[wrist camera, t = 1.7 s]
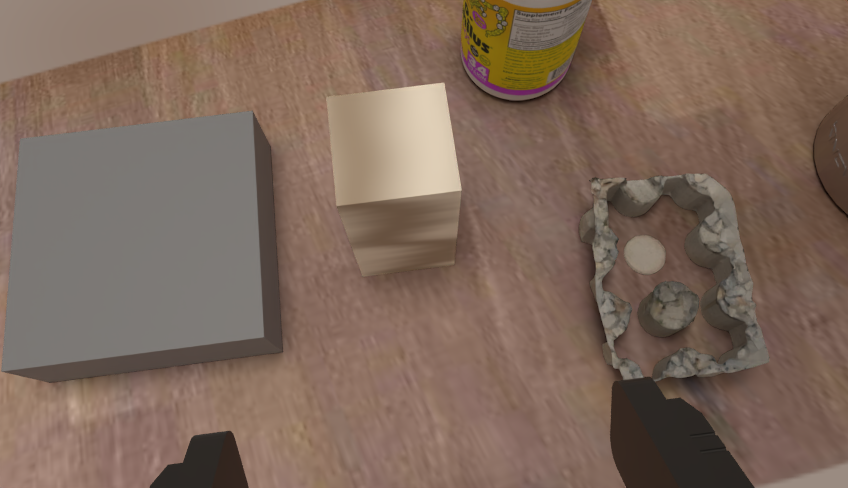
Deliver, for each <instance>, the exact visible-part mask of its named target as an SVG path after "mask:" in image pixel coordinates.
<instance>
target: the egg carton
mask: <svg viewBox="0 0 848 488" xmlns="http://www.w3.org/2000/svg"><path fill="white" fill-rule="evenodd" d="M589 181H590V182H591V183H592V188H591V193H592V194H593V197H594V204H593V208H592V209H591V210H589V211H588V212H587V213H585V214H584V215H583V216H582V217H581V220H580V224H579V234H580V238H581V241H582V242H586V243H589V244H591V245H593V252H594V260H595V263H596V274H595V275H594V278H593V279H592V280H591V281H590V283H589V284H590V287H591V290H592V292H593V294H594V297H595V300H596V302H597V303H598V307H599V311H600V315H601V319H602V322H603V326H604V330H605V334H606V338H607V342H606V343H604V344H603V345H602V347H603V354H604V358H605V361H606V363H607V364H609V365H613V367H614V368H615V369H619V370H620V372H621V374H622V376H623V380H628V379H636V378H643V377H644V376H643V374H642V372H641V369H640V367H639V365H637V364H636V363H634V362H633V361H631V360H629V359H627V358H626V359H622V358H618V357H617V355H616V352H615V350H614V339H616V338H617V337H618V336H619V335H621V334H622V333H623V332H624V331H625V330H626V328H627V326H628V323H629V319H630V314H631V311H632V307H631V305H630V303H628V302H625V301H623V300H621V299H620V298H618V297H617V296H616V295H615V294H613V293H611V292H607V291H604V290H603V288H602V279H603V277H604V276H605V275H606V274H607V273H608V272H609V271H610V270H611V269H612V268H613V266H614V264H615V259H616V258H617V255H618V250H617V246H616V244H617V242H618V240H619V239H618V238H617V236H616V235H615V234H614V233H613V232H612V229H610V228H608V206H607V201H611V202H612V204H613V206H614V207H615V209H616V210H617V211H618V212H619V213H621V214H623V215H625V216H628V217H637V216H640V215H643V214H644V213H646V212H647V211H648V210H649V209H650V208H651V207H652V205H653V204H654V203H655V202H656V201H657V200H658V198H659V197H660V196H661V195H669V196H671V198H672V199H673V200H674V202H675V203H676V204H677V205H678V206H680V207H682V208H684V209H687V210H694V211H696V212H697V215H698V218H699V221H700V223H699V224H698V225H697V226H696V227H695V228H694V229H693V230H692V231H691V232H690V233H689V234H688V235H687V237H686V239H685V251H686V254H687V255H688V257H689V258H690V260H692V261H693V262H694V263H695V264H697V265H699V266H701V267H706V268H710V269H712V271H713V273H714V277H715V281H716V285H715V286H714V287H712V288H711V289H710V290H708V291H707V292H706V293H705V294H704V295H703V297H702V299H701V302H700V306H701V312H702V315H703V317H704V318H705V320H706V321H707V322H708V323H709V324H710V325H712V326H714V327H716V328H718V329H721V330H726V331H729V333H730V336H731V340H732V344H733V350H730V351H728V352H726V353H724V354H723V355H722V356H721V357H720V358H719V361H718V363H717V362H716V360H715V358H714V357H713V356H712V355H708V354H701V353H699V352H697V351H696V350H694V349H692V348H689V347H688V348H681V349H679V350H678V351H677V352H676V353H675V354H673V355H671V356H668V357H666V358H664V359H662V360H661V361H659V362H658V363H657V364H656V366H655V368H654V370H653V374H652V379H653V380H654V381H659V380H662V379H664V378H666V377H676V378H684V377H689V376H693V375H697V377H709V376H715V375H718V374H721V373H732V372H737V371H740V370H744V369H748V368H752V367H756V366H759V365H762V364H765V363H768V362H769V355H768V351H767V348H766V345H765V342H764V338H763V334H762V330H761V328H760V326H759V324H758V323H757V319H756V314H755V308H756V304H755V303H754V302H753V301H752V289H753V281H752V279H751V276H750V274H749V271H748V268H747V265H746V260H745V254H744V249H743V246H742V244H741V241H740V236H739V229H738V223H737V216H736V210H735V204H734V202H733V199H732V197H731V194H730V193H729V192H728V191H727V190H726V189H725V188H724V187H723V186H722V185H721V184H719V183H718V182H717V181H715V180H714V179H713V178H712V177H710V176H709V175H707V174H683V175H678V176H655V177H652V178H649V179H646V180H633V181H626V178H609V179H599V178H592V179H591V180H589ZM665 255H666V251H665V249H664V247H663V245H662V244H661V243H660V242H659V241H658V240H657V239H655V238H653V237H651V236H649V235H638V236H635V237H633V238H632V239H631V240H629V241H628V242H627V244H626V246H625V248H624V258H625V259H626V262H627V265H628V266H629V267H630V268H631V269H632V270H634V271H635V272H637V273H640V274H643V275H651V274H654V273H656V272H658V271H659V270H660V269H661V268H662V267H663V265H664V263H665ZM698 308H699V297H698V295H696V294H695V293H693V292H692V291H691V290H690V289H689V288H688V287H687V286H685V285H684V284H682V283H680V282H674V281H670V282H666V281H665V282H662V283H660V284H659V285H657V286H656V287H655V289H654V291H653V292H651V293H650V294H649V295H648V296H647V297H646V298H644V299H643V300H642V302H641V303H640V305H639V308H638V320H639V322H640V324H641V326H642V327H643V328H644V330H645V331H646V332H648V333H649V334H651V335H653V336H656V337H667V336H670V335H672V334H674V333H676V332H678V331H680V330H681V329H684V328H685V327H687V326H688V325H689V324H690V323H691V322H693V321H694V318H695V316H696V314H697V311H698Z"/></svg>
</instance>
